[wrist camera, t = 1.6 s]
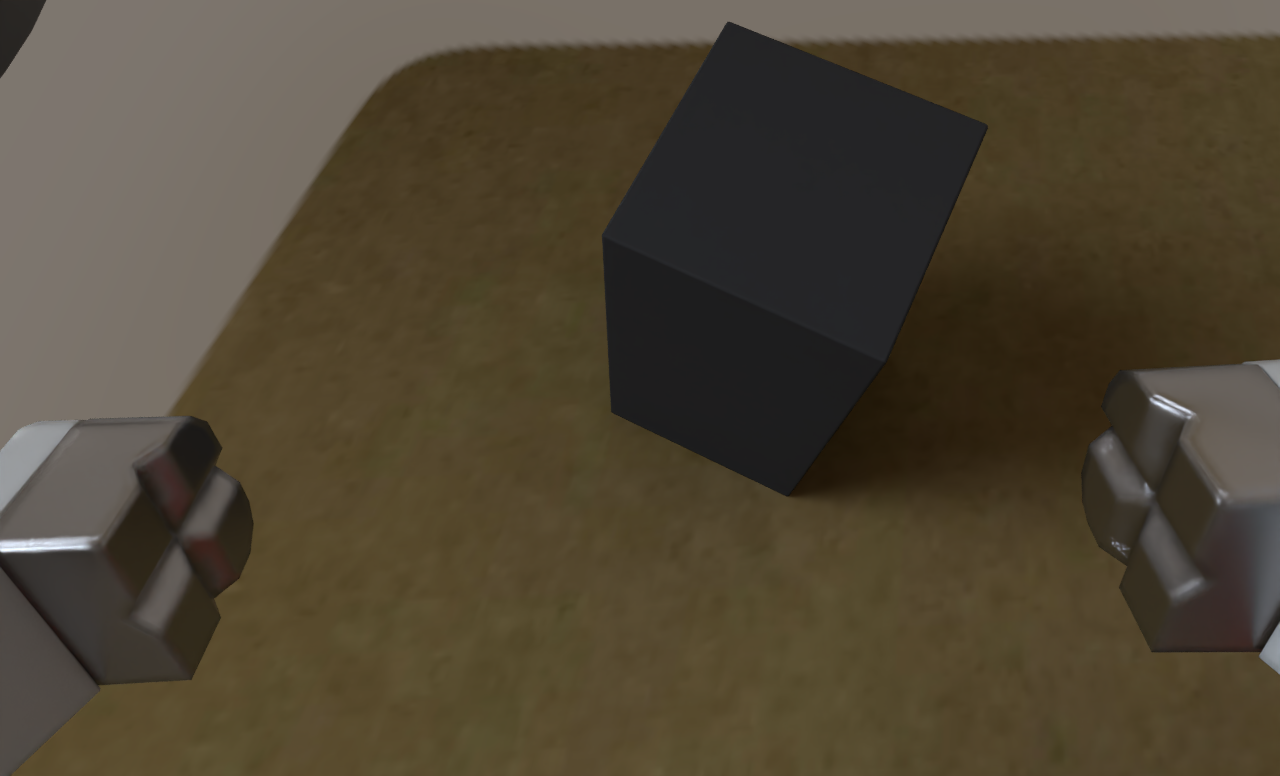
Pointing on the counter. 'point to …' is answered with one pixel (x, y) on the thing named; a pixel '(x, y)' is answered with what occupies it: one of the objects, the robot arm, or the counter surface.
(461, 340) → the counter surface
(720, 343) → the pad block
